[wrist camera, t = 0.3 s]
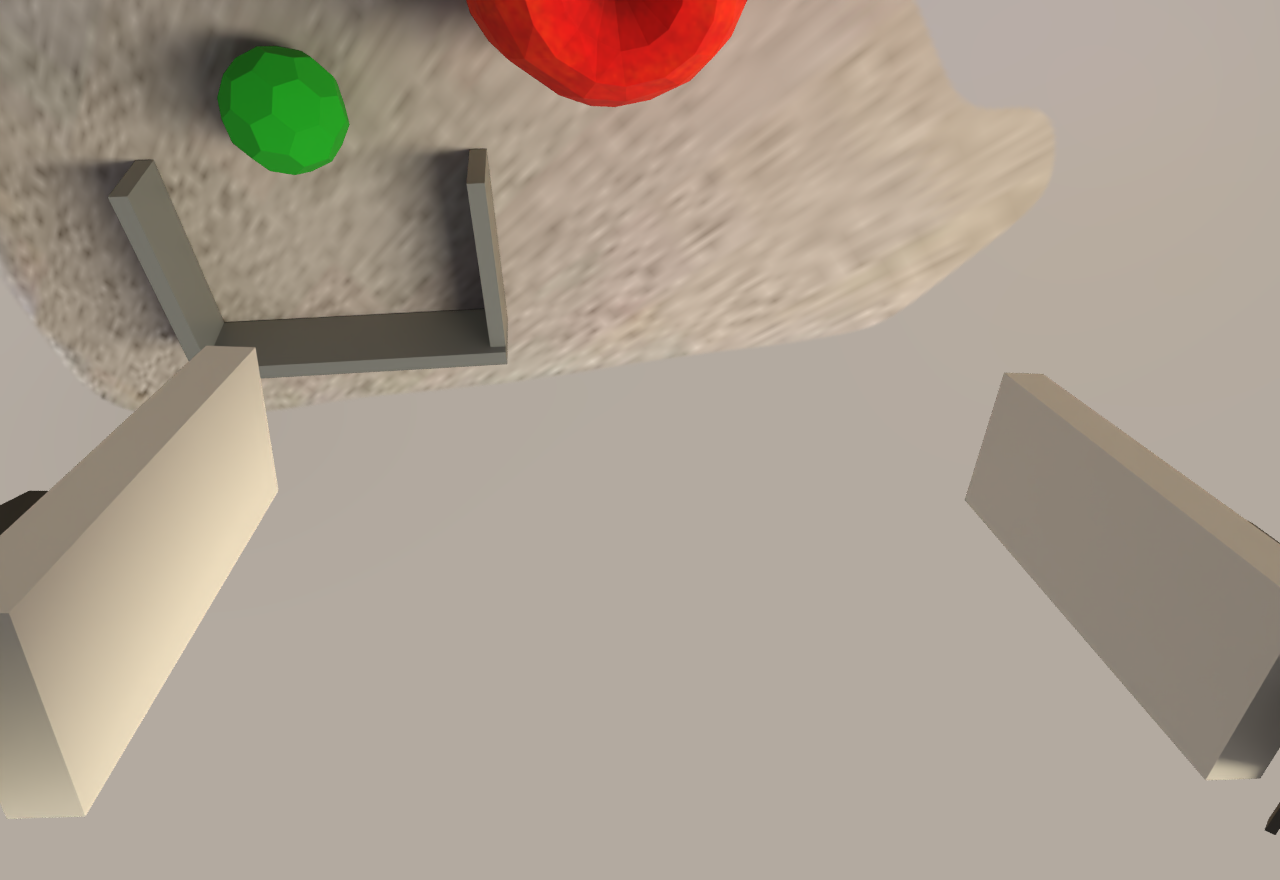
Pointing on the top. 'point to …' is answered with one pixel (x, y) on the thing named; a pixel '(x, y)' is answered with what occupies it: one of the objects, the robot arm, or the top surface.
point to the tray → (315, 339)
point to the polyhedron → (283, 109)
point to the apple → (608, 43)
